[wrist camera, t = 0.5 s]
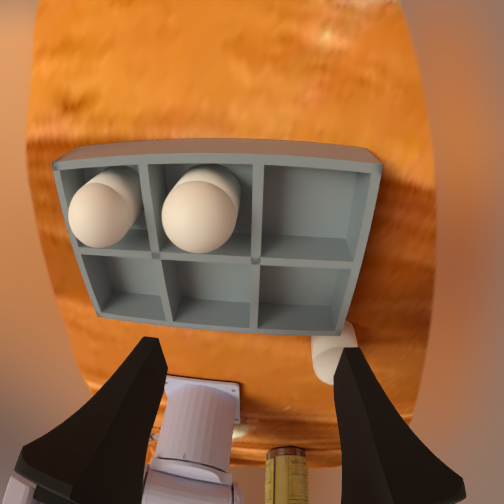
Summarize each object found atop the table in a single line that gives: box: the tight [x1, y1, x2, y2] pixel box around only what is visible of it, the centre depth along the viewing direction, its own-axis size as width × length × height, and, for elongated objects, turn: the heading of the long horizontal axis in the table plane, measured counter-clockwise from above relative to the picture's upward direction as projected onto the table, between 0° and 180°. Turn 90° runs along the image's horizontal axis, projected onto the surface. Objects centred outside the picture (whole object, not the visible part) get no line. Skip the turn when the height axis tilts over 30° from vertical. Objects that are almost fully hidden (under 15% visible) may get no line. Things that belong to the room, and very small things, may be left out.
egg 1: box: [68, 165, 144, 248], centre depth 15 cm, size 4×4×5 cm
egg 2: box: [162, 163, 242, 253], centre depth 15 cm, size 4×4×5 cm
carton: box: [51, 138, 383, 336], centre depth 18 cm, size 12×17×3 cm
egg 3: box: [310, 320, 358, 385], centre depth 22 cm, size 4×4×5 cm
